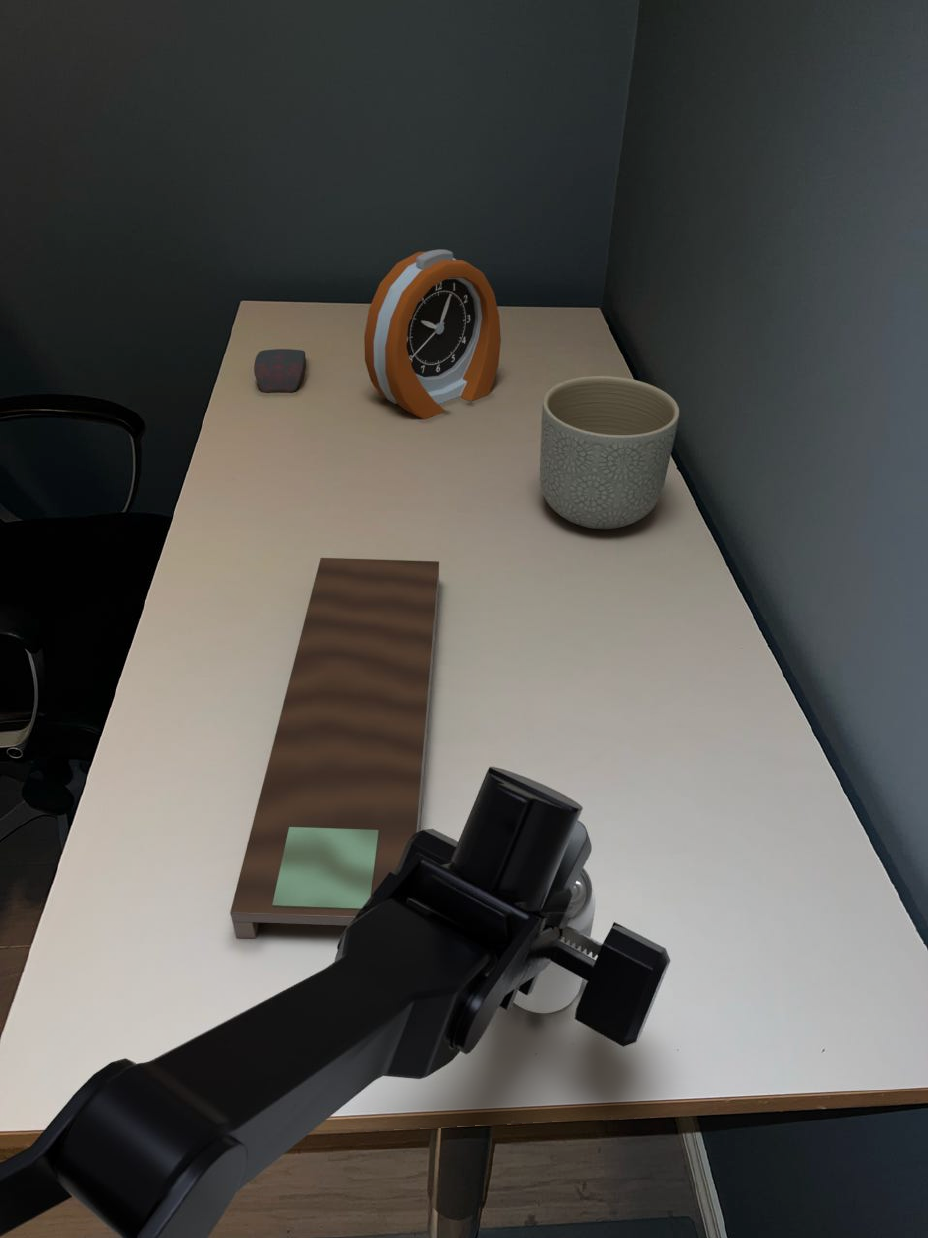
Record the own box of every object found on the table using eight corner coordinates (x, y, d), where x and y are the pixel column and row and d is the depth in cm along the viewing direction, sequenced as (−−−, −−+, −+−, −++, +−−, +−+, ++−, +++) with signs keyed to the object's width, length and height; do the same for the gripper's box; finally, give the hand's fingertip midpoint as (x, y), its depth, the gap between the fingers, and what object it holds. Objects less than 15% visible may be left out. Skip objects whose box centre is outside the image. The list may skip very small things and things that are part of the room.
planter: (591, 464, 134) (604, 364, 124) (686, 512, 124) (707, 407, 115) (508, 505, 125) (514, 400, 115) (603, 560, 115) (618, 451, 106)
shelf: (410, 944, 74) (409, 918, 71) (235, 938, 74) (229, 911, 72) (439, 584, 111) (439, 559, 108) (322, 581, 111) (320, 556, 109)
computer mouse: (253, 392, 150) (250, 369, 147) (263, 357, 160) (260, 335, 158) (303, 392, 150) (301, 369, 148) (310, 357, 161) (308, 335, 158)
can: (577, 1023, 69) (595, 934, 61) (492, 1008, 70) (499, 917, 62) (584, 946, 74) (601, 854, 66) (504, 933, 75) (512, 840, 67)
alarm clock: (404, 427, 142) (400, 278, 127) (365, 404, 147) (357, 259, 133) (508, 386, 153) (515, 246, 139) (468, 367, 159) (471, 230, 145)
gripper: (685, 893, 51) (715, 869, 65) (404, 756, 58) (487, 762, 72) (609, 1082, 50) (656, 1017, 65) (336, 921, 58) (433, 895, 72)
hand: (554, 914), depth 68 cm, fingers open, 9 cm apart
